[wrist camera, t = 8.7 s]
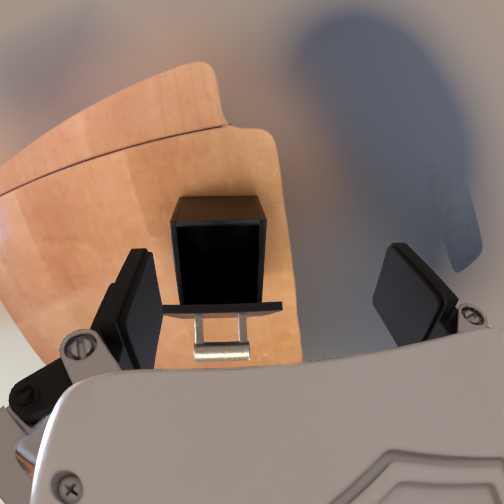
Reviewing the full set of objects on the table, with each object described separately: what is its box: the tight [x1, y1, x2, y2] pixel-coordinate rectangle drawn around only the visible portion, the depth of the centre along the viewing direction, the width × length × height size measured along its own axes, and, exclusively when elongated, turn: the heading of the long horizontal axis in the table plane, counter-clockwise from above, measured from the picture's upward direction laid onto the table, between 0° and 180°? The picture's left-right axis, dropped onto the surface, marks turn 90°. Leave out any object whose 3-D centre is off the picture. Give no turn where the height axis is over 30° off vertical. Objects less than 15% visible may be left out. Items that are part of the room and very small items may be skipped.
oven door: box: [162, 302, 283, 362], centre depth 31 cm, size 14×11×5 cm
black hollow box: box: [170, 196, 267, 305], centre depth 39 cm, size 13×11×9 cm
